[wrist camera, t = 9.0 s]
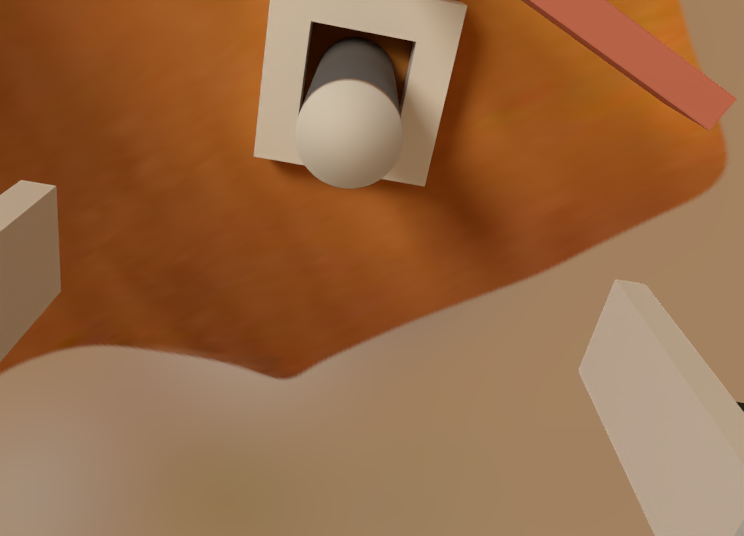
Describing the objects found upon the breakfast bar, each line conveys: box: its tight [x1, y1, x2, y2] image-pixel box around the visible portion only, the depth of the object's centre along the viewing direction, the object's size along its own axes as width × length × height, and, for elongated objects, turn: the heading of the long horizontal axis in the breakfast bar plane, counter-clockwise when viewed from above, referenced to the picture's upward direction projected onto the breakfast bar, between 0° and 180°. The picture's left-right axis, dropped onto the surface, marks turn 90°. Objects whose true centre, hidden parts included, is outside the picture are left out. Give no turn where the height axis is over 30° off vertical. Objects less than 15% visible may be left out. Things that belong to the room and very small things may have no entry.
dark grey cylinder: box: [295, 37, 403, 189], centre depth 32 cm, size 4×4×12 cm
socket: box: [254, 0, 467, 187], centre depth 30 cm, size 10×16×13 cm, turn 169°
